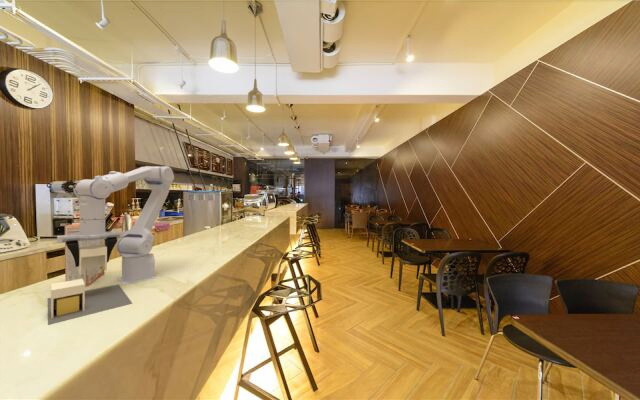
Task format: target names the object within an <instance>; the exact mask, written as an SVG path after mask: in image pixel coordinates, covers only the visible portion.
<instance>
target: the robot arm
mask: <svg viewBox="0 0 640 400" xmlns="http://www.w3.org/2000/svg"><path fill="white" fill-rule="evenodd" d="M139 180H143V181H144V183H145V185H146V186H147V188H148V189H150V190H151V192H150V194H149V197H147V198H148V199H147V200H146V203H145V204H144V205H143V208H142V210H141V212H140V214H139V216H138V218H137V220H136V222H135V223H134V225H133V227H132V228H130V229H128V230H126V231H125V232H124V231H123V230H119V231H118V230H117V231H106V199H107V198H109V196H110V195H111V194H112V193H114V192H117V191H120V190H123V189H126V188H127V187H128V186H129V183H133V182H136V181H139ZM174 180H175V175H174V171H173V169H172V168H171V167H170V166H168V165H165V166H157V165H156V166H150V165H145V166H140V167H138V168H136V169H133V170H131V171H130V170H129V171H127V172H124V173H123V172H120V171H116V170H114V171H113V170H112V171H109V172H108V174H104V175H95V176H94V178H93V179H87V178H86V179H85V178H83V179H81V180H79V181H78V182H77V184H75V187H73V193H74V195H75V196H76V197H77V202H78V203H79V214H78V215H79V220H78V221H79V222H78V223H79V234H71V235H65V234H63V235H57V236H56V238H57V239H56V243H57V244H65V242H66V246H67V247H68V248H69V250H70V252H71V253H72V255H73V257H74V260H75V266H76V267H79V256H78V255H79V244H78V241H87V240H98V239H104V245H105V246H106V247H107V263H109V262H110V257H111V254H112V251H113V249H114V247H115V249H116V252H117V253H119V256H120V257H121V277H118V280H119V281H120V283H121V285H126V284H132V283H136V282H143V281H147V280H151V279H155V278H156V276H155V272H156V265H155V264H156V262H155V260H156V258H155V255H154V253H150V252H151V251H152V249H153V246H154V244H153V243H154V241H155V239H156V238H155V236H154V234H153V233H152V229H153V227H154V225H155V223H156V221H157V219H158V217H159V215H160V212H161V211H162V208H163V206H164V203H165V202H166V199H167V198H168V195H169V192H170V188H171V186H172V184H173V183H174V182H173V181H174ZM95 237H99V238H95ZM84 238H88V239H84Z"/></svg>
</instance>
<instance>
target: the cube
mask: <svg viewBox="0 0 640 400" xmlns="http://www.w3.org/2000/svg"><path fill="white" fill-rule="evenodd" d="M75 311H79V294H75V295H70V296H65V297H60V298H56V312H57V316H59V315H63V314H67V313H71V312H75Z"/></svg>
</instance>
